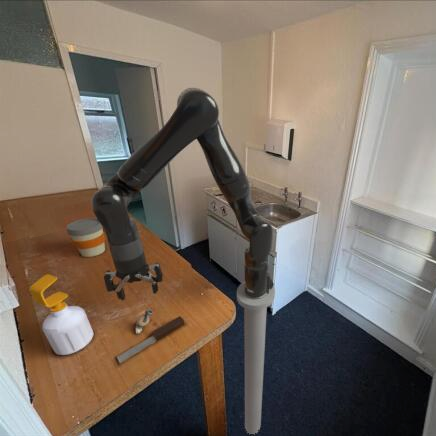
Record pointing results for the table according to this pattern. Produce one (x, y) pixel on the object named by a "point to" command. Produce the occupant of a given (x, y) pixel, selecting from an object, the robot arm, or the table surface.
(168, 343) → the table surface
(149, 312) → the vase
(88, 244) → the reusable coffee cup
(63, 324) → the soap bottle
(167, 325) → the knife
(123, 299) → the robot arm
